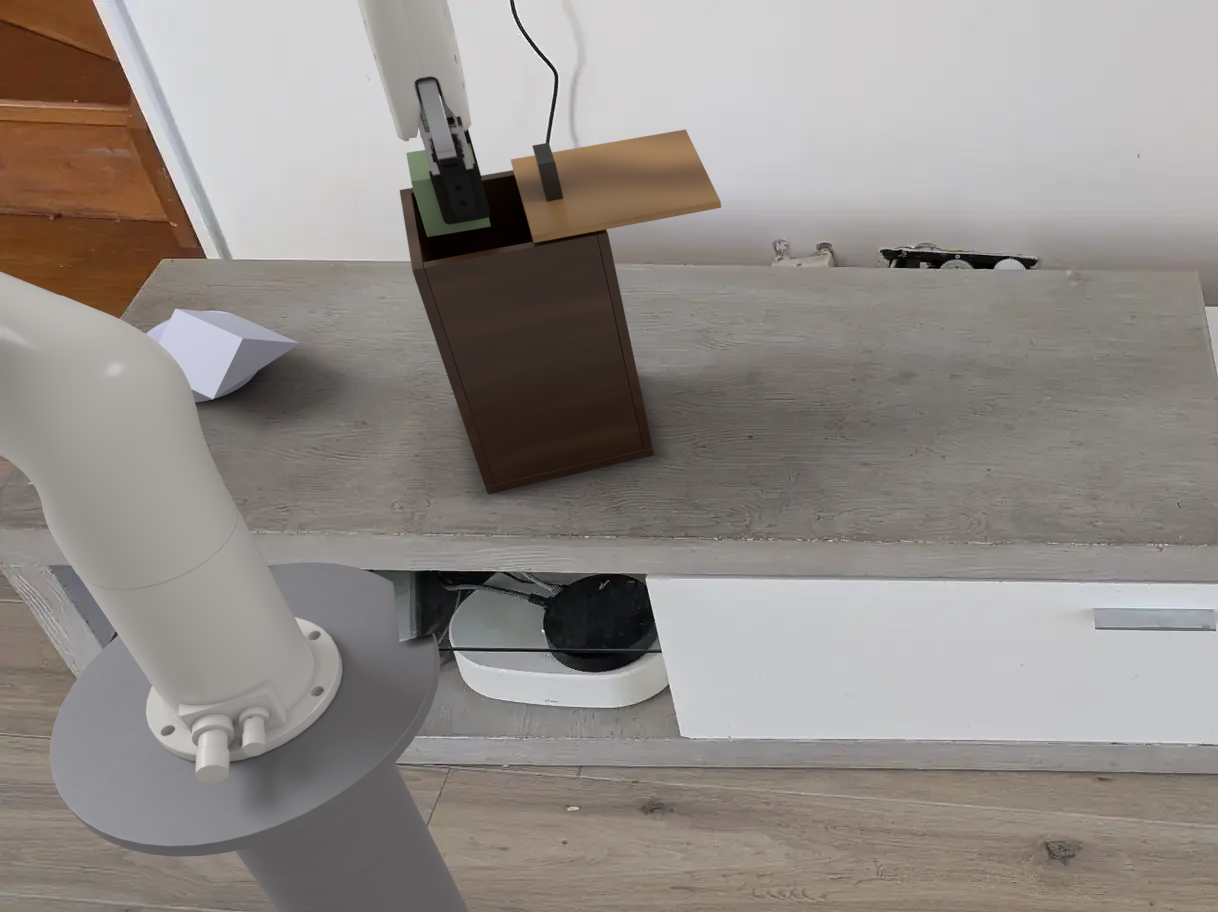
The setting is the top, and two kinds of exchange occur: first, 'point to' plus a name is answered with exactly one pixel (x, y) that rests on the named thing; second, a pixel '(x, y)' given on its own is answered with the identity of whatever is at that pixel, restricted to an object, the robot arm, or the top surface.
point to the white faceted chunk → (218, 349)
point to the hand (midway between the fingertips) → (463, 199)
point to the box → (530, 342)
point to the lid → (612, 185)
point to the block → (434, 198)
